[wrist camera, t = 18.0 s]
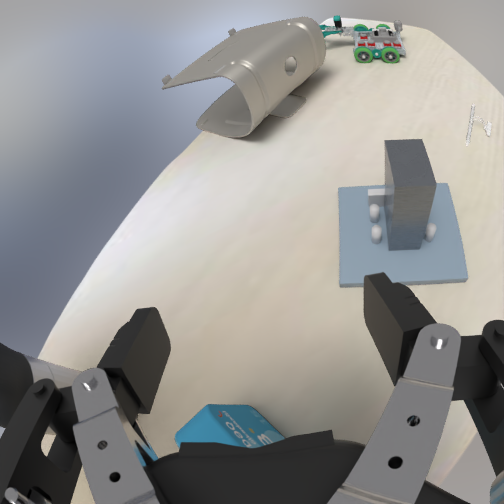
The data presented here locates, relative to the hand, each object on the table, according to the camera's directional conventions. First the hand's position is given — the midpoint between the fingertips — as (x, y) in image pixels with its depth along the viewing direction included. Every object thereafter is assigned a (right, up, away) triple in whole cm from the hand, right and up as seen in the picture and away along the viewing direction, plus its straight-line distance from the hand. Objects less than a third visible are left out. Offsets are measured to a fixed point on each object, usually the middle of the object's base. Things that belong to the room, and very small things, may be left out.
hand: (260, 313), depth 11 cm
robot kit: (+26, +53, +48) cm, 76 cm away
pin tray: (+18, +5, +24) cm, 31 cm away
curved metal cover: (+1, +34, +47) cm, 58 cm away
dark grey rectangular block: (+18, +5, +23) cm, 30 cm away
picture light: (+40, +24, +27) cm, 53 cm away
